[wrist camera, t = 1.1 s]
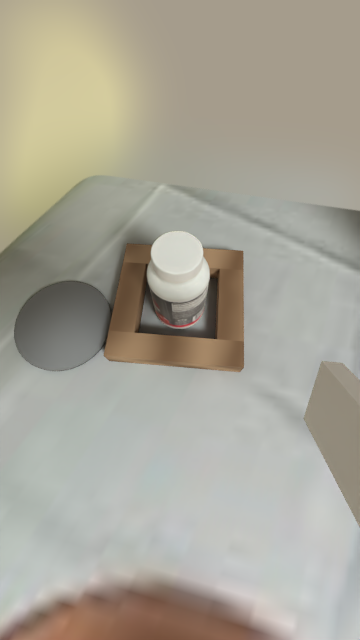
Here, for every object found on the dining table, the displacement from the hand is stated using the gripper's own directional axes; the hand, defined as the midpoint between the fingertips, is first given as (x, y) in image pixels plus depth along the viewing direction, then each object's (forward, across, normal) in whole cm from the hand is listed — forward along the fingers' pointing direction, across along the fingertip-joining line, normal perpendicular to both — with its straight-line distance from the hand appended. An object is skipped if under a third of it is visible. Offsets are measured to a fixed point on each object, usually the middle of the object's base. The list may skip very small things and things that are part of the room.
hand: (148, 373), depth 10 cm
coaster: (+16, -12, -6) cm, 21 cm away
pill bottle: (+18, 0, -4) cm, 19 cm away
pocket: (+18, 0, -3) cm, 18 cm away
